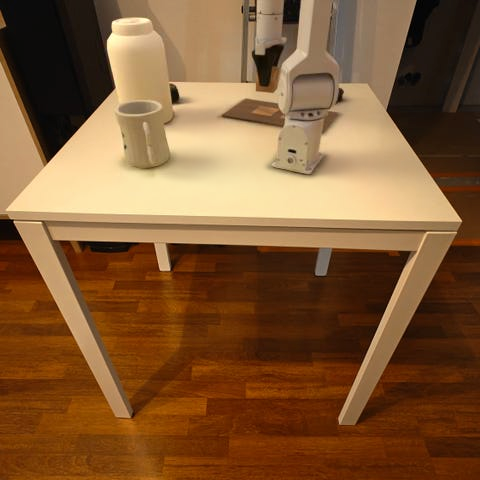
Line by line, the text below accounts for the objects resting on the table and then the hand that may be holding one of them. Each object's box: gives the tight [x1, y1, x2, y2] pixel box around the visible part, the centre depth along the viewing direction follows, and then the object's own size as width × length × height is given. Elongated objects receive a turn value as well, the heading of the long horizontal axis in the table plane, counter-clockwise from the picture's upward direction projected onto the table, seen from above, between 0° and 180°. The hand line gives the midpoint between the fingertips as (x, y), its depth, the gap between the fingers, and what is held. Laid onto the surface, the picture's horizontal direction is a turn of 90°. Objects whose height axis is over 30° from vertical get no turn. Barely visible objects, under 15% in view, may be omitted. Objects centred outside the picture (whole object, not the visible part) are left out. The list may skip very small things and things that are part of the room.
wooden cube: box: [255, 66, 280, 94], centre depth 87 cm, size 4×4×5 cm
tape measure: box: [169, 82, 181, 102], centre depth 98 cm, size 7×7×4 cm
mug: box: [114, 100, 171, 169], centre depth 69 cm, size 12×9×10 cm
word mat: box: [221, 98, 339, 133], centre depth 91 cm, size 14×26×1 cm, turn 64°
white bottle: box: [106, 17, 174, 124], centre depth 83 cm, size 12×12×20 cm
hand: (266, 83), depth 87 cm, fingers closed on wooden cube, 4 cm apart
